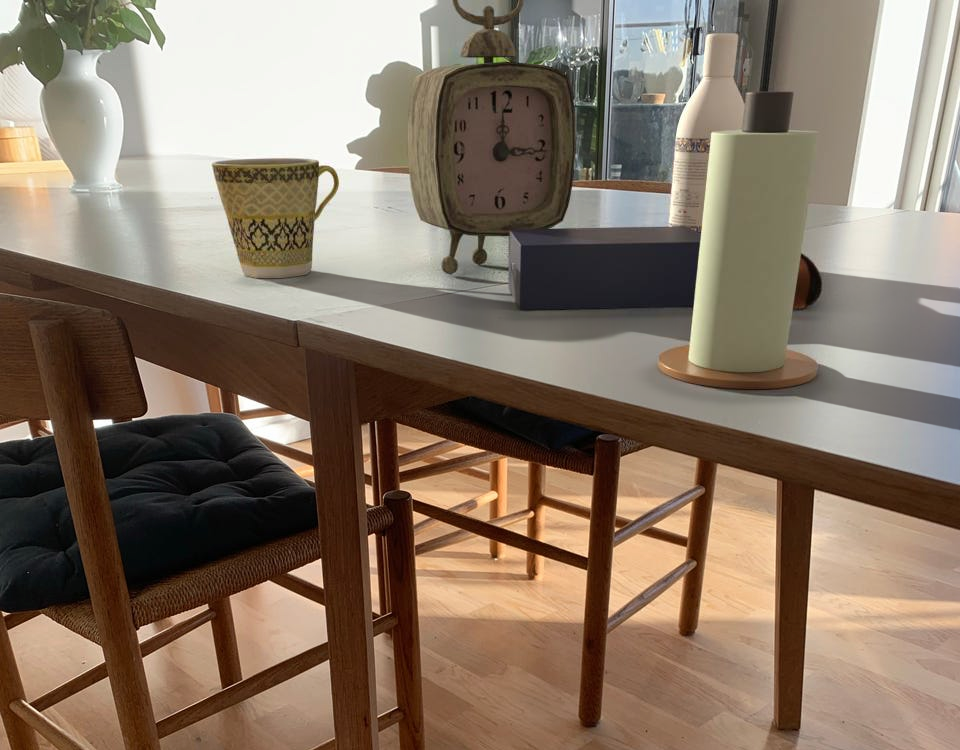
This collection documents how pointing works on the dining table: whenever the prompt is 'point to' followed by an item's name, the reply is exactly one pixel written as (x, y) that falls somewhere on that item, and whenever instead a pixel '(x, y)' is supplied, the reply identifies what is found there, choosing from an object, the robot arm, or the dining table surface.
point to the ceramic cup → (272, 212)
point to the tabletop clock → (490, 141)
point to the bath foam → (704, 129)
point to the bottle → (752, 238)
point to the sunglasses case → (807, 284)
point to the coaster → (790, 374)
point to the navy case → (603, 267)
